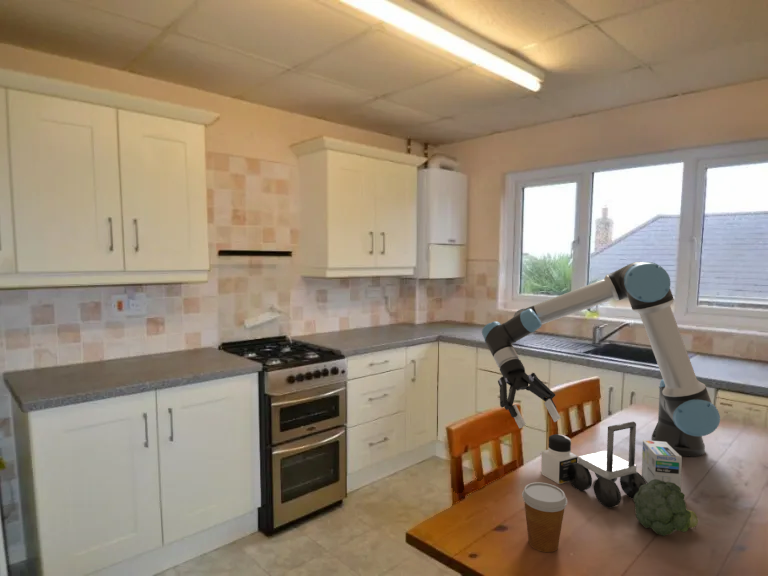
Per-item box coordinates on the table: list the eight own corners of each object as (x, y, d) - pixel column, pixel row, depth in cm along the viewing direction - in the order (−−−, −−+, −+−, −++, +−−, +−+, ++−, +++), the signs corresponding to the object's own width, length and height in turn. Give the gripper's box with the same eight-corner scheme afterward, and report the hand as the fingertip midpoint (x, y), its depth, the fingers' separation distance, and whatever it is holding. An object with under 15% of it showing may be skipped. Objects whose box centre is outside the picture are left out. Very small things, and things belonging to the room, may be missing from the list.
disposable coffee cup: (514, 531, 107) (515, 482, 106) (554, 529, 108) (555, 480, 107) (531, 558, 97) (532, 504, 97) (574, 556, 98) (575, 502, 97)
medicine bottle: (559, 485, 129) (560, 443, 128) (540, 474, 135) (541, 434, 134) (577, 479, 132) (578, 439, 131) (558, 469, 138) (559, 430, 137)
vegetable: (724, 539, 100) (671, 516, 98) (676, 555, 108) (625, 534, 106) (704, 486, 110) (655, 463, 107) (660, 504, 118) (614, 484, 115)
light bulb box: (681, 495, 123) (683, 456, 122) (653, 493, 124) (655, 454, 124) (665, 476, 133) (667, 440, 133) (640, 474, 135) (641, 439, 134)
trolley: (596, 476, 134) (599, 406, 132) (647, 503, 119) (650, 425, 118) (567, 483, 129) (569, 412, 128) (615, 512, 115) (618, 432, 113)
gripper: (533, 366, 160) (564, 422, 147) (473, 373, 150) (501, 434, 137) (544, 354, 155) (578, 411, 142) (483, 361, 145) (513, 423, 132)
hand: (540, 423), depth 140 cm, fingers open, 13 cm apart
